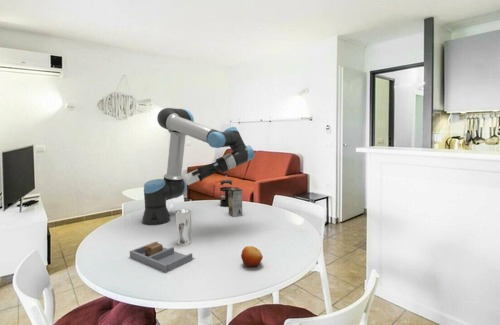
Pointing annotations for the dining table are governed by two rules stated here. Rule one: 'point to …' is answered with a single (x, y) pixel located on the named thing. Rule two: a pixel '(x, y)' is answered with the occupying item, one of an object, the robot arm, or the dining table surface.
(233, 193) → the coffee box
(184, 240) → the beer glass
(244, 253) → the fruit
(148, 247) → the walnut block
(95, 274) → the dining table surface
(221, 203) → the french press
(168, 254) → the tray
